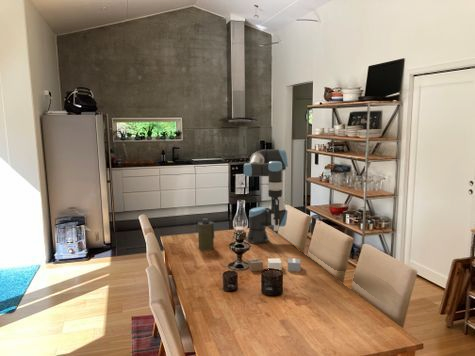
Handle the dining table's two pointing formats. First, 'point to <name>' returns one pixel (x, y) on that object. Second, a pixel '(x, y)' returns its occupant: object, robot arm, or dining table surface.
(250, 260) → the walnut block
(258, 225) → the robot arm
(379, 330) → the dining table surface
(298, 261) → the grey block
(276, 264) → the plain block
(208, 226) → the canister
